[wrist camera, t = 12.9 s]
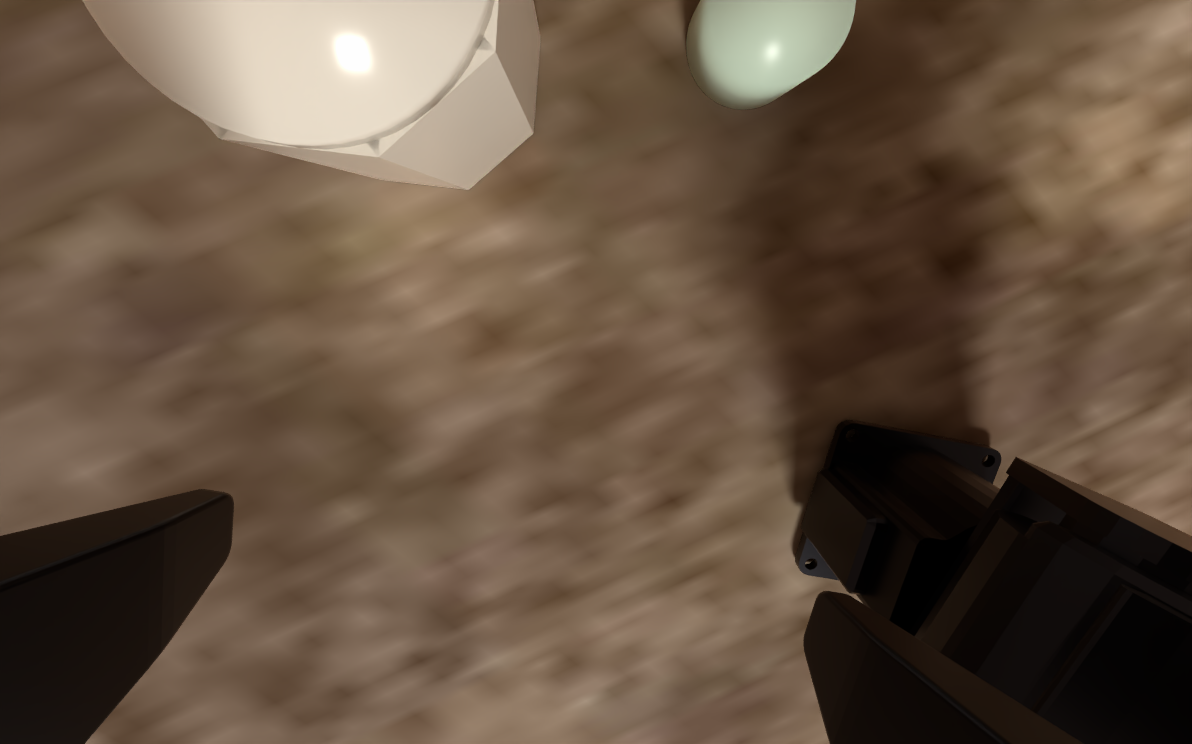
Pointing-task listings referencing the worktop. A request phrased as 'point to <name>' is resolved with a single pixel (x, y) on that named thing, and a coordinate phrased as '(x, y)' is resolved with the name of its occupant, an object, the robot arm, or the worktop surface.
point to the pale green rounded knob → (762, 46)
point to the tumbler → (346, 77)
